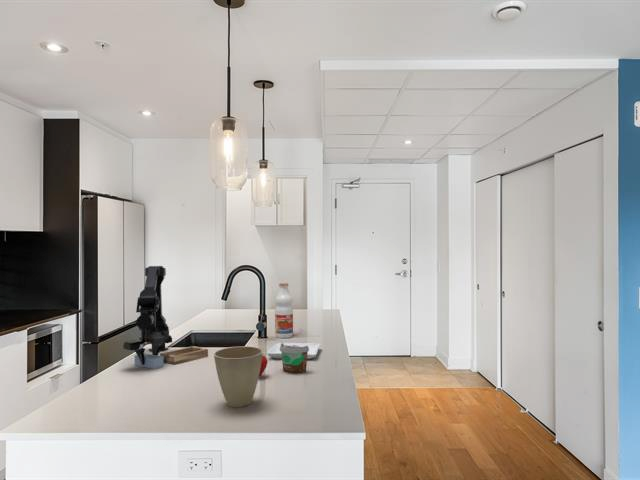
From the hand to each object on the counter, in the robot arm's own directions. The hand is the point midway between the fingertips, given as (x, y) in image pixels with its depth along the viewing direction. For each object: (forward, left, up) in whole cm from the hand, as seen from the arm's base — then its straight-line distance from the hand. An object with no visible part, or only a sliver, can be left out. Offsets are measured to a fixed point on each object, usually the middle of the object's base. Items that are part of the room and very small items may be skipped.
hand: (148, 363), depth 187 cm
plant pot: (+63, -7, -1) cm, 63 cm away
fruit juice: (+6, +74, -1) cm, 74 cm away
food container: (+53, +28, -1) cm, 60 cm away
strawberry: (+48, +16, -1) cm, 51 cm away
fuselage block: (0, 0, -1) cm, 1 cm away
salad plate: (+36, +49, -2) cm, 61 cm away
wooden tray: (+2, +16, -1) cm, 16 cm away
